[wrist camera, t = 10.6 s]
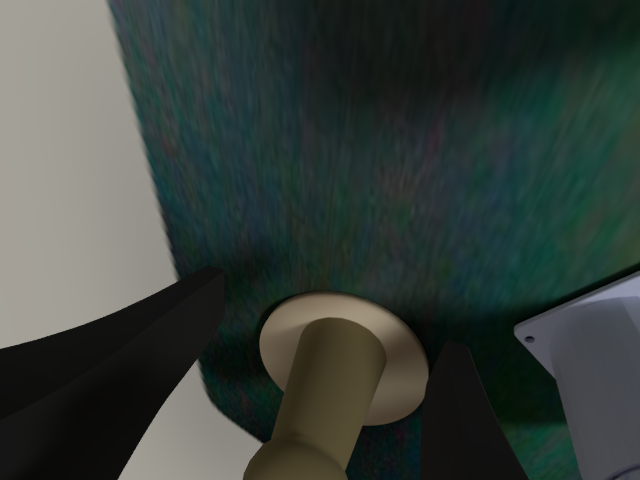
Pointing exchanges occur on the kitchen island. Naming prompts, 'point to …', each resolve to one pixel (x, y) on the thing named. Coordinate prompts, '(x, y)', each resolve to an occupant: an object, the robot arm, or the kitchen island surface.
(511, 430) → the kitchen island surface
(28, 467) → the robot arm
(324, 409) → the pepper shaker
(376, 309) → the cork trivet
